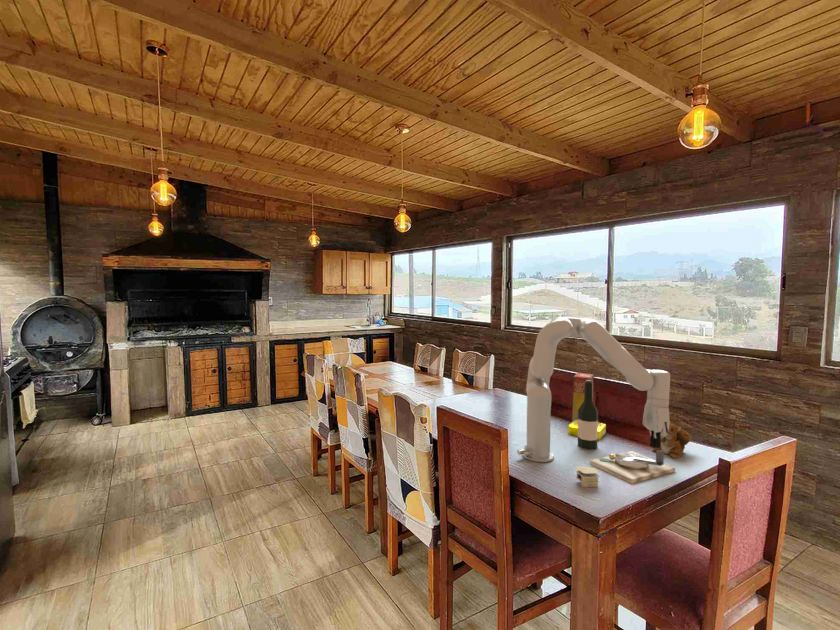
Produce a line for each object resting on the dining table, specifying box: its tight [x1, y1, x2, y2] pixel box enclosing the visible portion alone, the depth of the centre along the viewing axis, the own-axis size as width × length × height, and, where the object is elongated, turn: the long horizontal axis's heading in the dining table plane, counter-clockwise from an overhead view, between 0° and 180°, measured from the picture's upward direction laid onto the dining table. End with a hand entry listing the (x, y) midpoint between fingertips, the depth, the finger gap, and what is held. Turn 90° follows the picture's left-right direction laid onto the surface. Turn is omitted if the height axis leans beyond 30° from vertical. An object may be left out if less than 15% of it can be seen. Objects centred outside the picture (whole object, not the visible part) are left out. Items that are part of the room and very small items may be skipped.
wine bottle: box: [577, 380, 599, 451], centre depth 183 cm, size 8×8×30 cm
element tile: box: [567, 419, 607, 441], centre depth 202 cm, size 15×15×5 cm
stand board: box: [589, 450, 676, 484], centre depth 161 cm, size 24×19×2 cm
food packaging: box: [571, 372, 595, 423], centre depth 221 cm, size 13×9×25 cm
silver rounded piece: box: [608, 450, 665, 470], centre depth 160 cm, size 19×12×7 cm, turn 61°
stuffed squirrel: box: [651, 422, 693, 459], centre depth 176 cm, size 10×14×13 cm
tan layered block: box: [575, 466, 600, 488], centre depth 147 cm, size 10×9×6 cm
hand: (655, 446), depth 163 cm, fingers closed
